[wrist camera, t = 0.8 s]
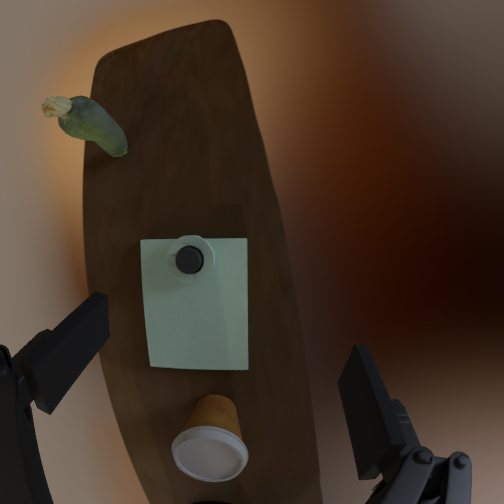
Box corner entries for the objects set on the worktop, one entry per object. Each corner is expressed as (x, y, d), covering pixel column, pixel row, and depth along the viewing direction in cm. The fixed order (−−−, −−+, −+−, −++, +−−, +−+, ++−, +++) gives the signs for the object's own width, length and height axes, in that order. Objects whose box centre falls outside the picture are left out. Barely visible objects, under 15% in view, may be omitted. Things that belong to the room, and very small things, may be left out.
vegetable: (118, 131, 37) (41, 72, 17) (144, 135, 37) (74, 70, 17) (109, 160, 37) (21, 117, 17) (134, 165, 37) (53, 118, 17)
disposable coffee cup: (172, 405, 40) (154, 453, 28) (217, 373, 40) (209, 422, 28) (214, 440, 41) (208, 491, 29) (259, 413, 40) (264, 465, 28)
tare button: (202, 271, 36) (200, 274, 34) (178, 271, 36) (175, 273, 34) (201, 247, 36) (199, 248, 34) (178, 247, 36) (174, 248, 34)
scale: (248, 366, 40) (248, 375, 37) (152, 363, 39) (146, 371, 36) (246, 234, 38) (247, 235, 35) (143, 236, 38) (135, 236, 35)
